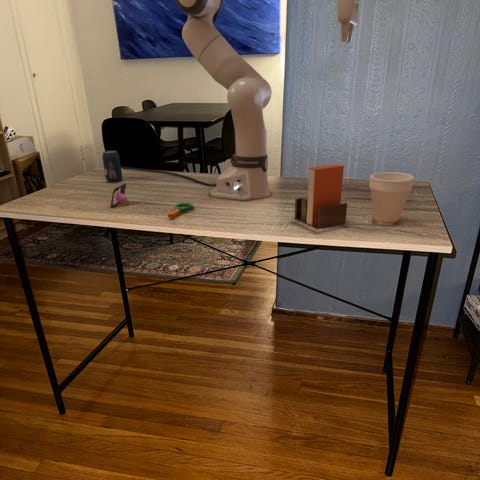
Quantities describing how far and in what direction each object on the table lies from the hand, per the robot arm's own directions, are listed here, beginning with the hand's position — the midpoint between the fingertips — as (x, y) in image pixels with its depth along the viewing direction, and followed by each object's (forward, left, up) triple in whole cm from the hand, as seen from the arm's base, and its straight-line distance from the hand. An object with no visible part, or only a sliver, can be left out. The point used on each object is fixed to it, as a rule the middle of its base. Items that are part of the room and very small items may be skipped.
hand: (346, 42), depth 138 cm
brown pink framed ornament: (-72, -24, -48) cm, 90 cm away
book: (+1, -31, -47) cm, 56 cm away
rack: (0, -29, -48) cm, 56 cm away
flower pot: (+19, -23, -48) cm, 56 cm away
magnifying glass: (-47, -29, -48) cm, 73 cm away
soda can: (-95, +8, -48) cm, 107 cm away
